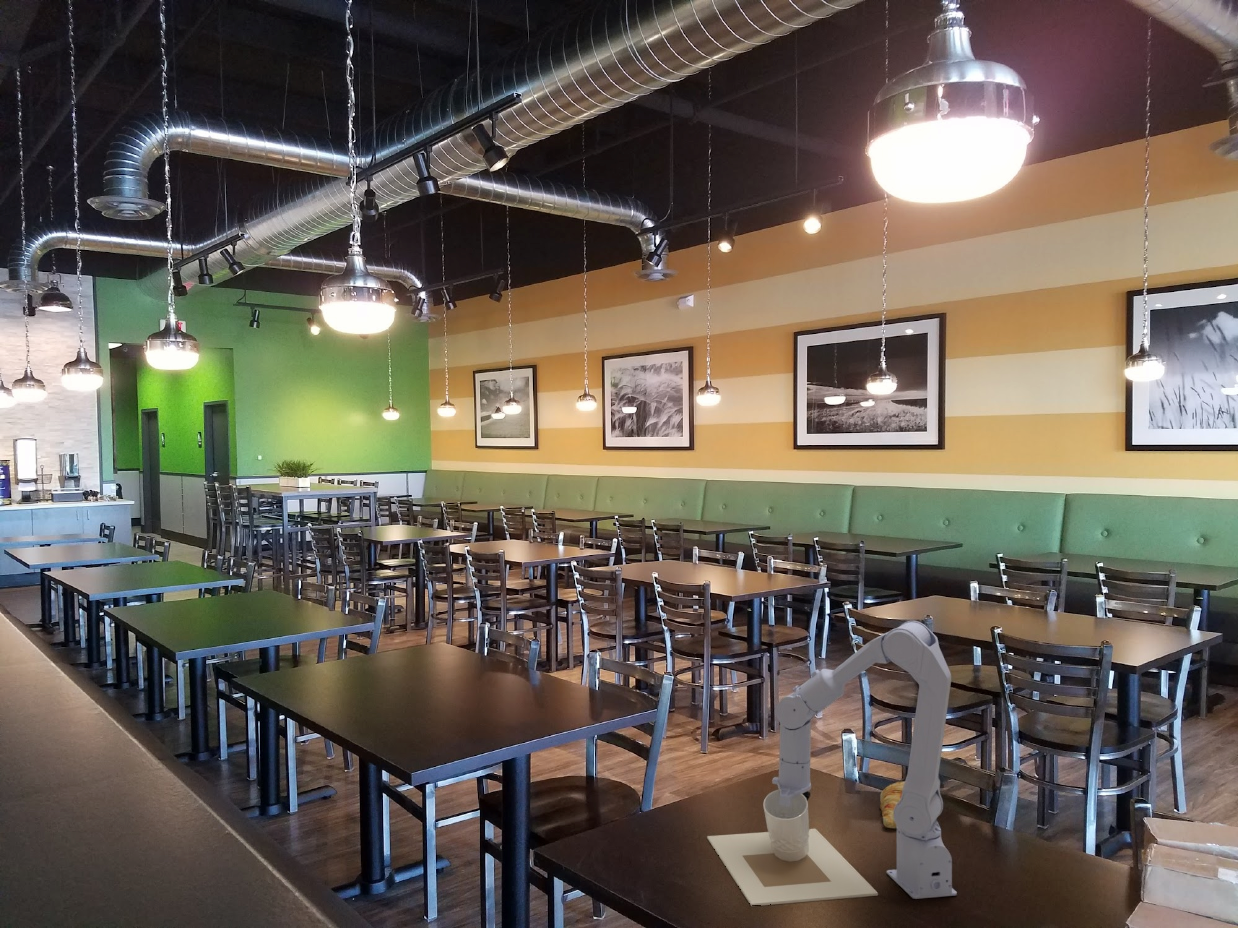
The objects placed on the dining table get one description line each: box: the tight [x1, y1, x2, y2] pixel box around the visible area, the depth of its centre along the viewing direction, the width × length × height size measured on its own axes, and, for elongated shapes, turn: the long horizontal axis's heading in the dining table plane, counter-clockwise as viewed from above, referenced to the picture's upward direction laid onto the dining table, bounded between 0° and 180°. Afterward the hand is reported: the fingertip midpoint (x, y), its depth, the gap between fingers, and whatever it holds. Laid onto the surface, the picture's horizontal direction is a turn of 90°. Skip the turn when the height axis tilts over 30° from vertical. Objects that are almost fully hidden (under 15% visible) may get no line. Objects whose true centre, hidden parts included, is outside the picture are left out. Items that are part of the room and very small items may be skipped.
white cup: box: [762, 789, 810, 862], centre depth 154 cm, size 8×8×10 cm
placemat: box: [706, 828, 879, 907], centre depth 152 cm, size 26×22×1 cm
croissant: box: [879, 780, 905, 829], centre depth 174 cm, size 21×10×8 cm, turn 143°
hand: (793, 831), depth 158 cm, fingers closed, pressing on white cup
